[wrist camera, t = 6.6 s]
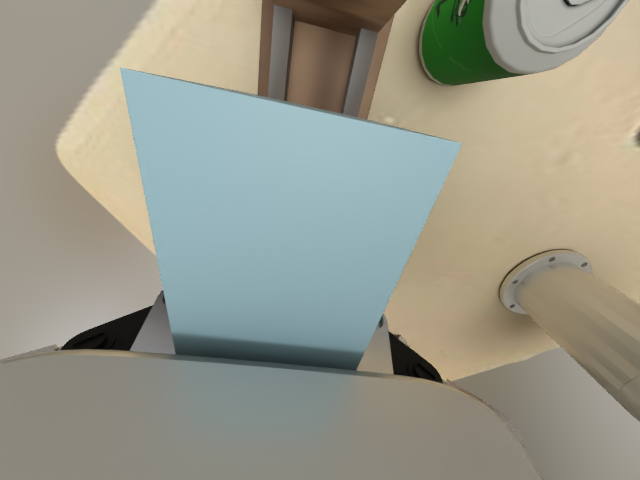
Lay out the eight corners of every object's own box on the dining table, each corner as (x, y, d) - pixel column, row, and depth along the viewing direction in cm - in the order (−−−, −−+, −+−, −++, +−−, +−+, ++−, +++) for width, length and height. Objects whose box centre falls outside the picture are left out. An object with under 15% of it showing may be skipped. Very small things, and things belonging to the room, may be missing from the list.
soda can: (497, 67, 23) (650, 34, 12) (420, 99, 24) (501, 94, 14) (497, -38, 19) (714, -208, 9) (407, 6, 20) (504, -97, 10)
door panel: (351, 115, 12) (462, 143, 3) (306, 310, 18) (299, 491, 10) (270, 98, 11) (118, 67, 2) (255, 304, 18) (201, 488, 9)
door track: (389, 20, 21) (458, -59, 11) (323, 276, 35) (327, 342, 26) (266, -14, 20) (217, -139, 10) (251, 266, 34) (225, 331, 24)
